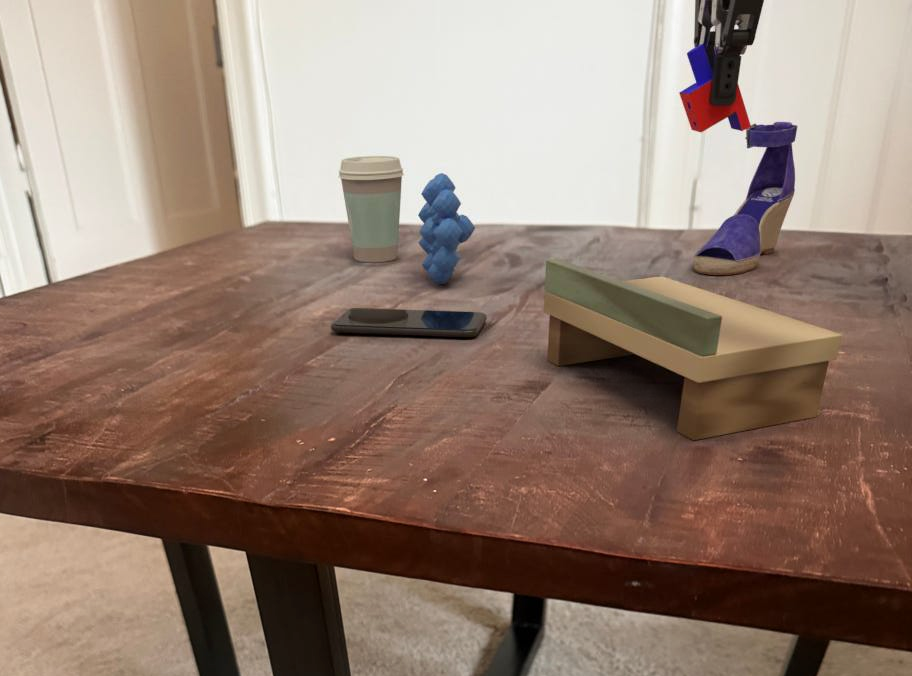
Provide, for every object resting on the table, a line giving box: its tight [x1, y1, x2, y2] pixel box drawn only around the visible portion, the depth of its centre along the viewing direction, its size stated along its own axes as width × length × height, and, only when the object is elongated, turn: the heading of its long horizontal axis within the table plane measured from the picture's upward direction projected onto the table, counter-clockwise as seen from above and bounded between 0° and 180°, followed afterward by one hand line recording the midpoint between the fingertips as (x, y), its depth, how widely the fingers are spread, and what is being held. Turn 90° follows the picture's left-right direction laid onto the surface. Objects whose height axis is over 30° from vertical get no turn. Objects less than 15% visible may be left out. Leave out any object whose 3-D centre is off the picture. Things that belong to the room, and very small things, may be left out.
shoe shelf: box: [543, 258, 843, 441], centre depth 69 cm, size 12×22×8 cm, turn 22°
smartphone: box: [330, 307, 488, 338], centre depth 88 cm, size 7×1×15 cm
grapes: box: [417, 172, 476, 285], centre depth 102 cm, size 12×7×12 cm, turn 13°
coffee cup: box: [338, 155, 405, 264], centre depth 116 cm, size 9×9×12 cm
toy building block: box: [678, 44, 752, 133], centre depth 80 cm, size 4×4×8 cm
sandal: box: [693, 121, 798, 276], centre depth 107 cm, size 8×20×15 cm, turn 133°
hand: (714, 103), depth 81 cm, fingers closed on toy building block, 3 cm apart
